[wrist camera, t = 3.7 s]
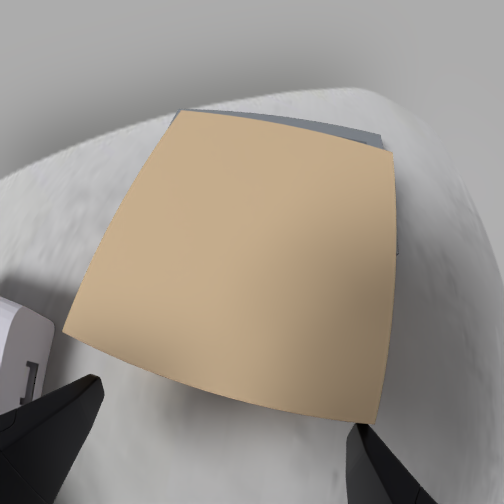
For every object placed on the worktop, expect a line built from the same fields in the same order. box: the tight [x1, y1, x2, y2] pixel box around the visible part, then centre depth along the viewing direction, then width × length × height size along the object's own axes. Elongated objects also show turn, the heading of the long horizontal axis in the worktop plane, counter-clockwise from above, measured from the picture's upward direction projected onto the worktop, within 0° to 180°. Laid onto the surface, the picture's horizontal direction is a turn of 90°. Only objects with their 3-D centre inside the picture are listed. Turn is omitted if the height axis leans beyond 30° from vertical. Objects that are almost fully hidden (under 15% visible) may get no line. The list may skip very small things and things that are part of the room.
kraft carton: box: [62, 110, 396, 425], centre depth 14 cm, size 12×11×8 cm
